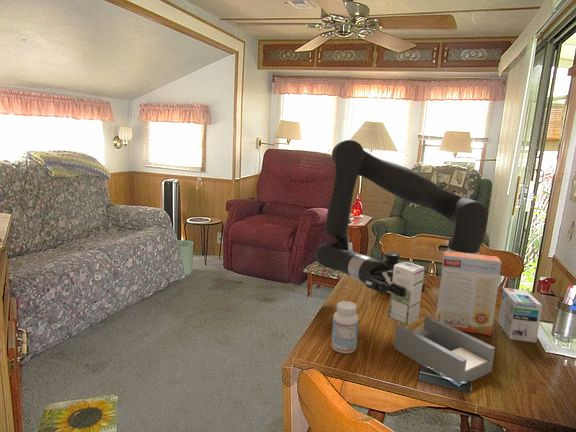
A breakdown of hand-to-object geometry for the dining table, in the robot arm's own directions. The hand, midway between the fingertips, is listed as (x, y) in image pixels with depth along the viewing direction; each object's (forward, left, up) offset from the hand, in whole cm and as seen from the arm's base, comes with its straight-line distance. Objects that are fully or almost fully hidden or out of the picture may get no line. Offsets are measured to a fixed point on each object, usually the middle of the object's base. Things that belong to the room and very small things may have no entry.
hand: (414, 291), depth 99 cm
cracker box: (-20, +2, -14) cm, 24 cm away
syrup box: (0, -2, -9) cm, 9 cm away
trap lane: (0, +10, -14) cm, 17 cm away
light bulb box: (-31, +11, -14) cm, 36 cm away
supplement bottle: (-25, -30, -14) cm, 42 cm away
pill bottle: (+17, -5, -14) cm, 23 cm away
